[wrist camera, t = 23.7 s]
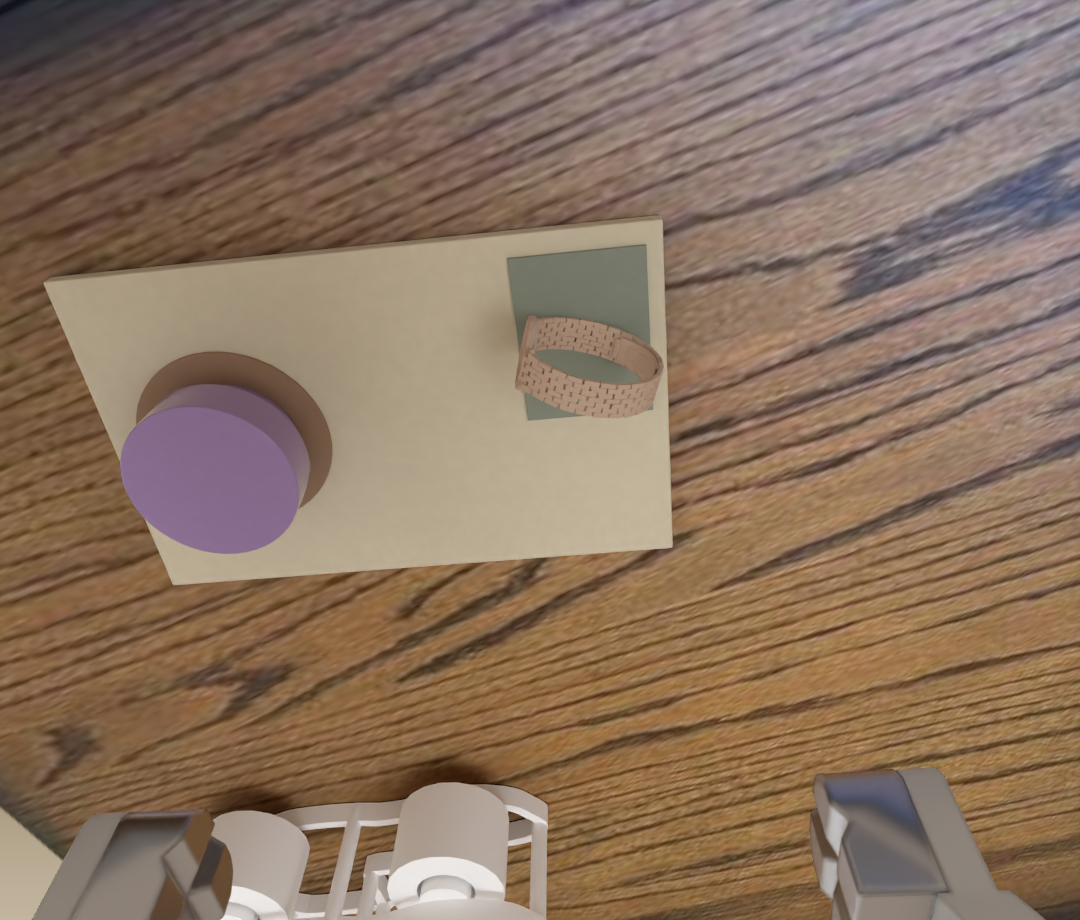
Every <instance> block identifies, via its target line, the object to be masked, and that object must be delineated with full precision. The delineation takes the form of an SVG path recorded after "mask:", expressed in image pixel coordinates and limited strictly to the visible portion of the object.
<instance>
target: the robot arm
mask: <svg viewBox="0 0 1080 920" xmlns="http://www.w3.org/2000/svg"><path fill="white" fill-rule="evenodd" d="M812 792H813V795H814V799H815V802H816V806H817V808H816V809H815V810H814V811H813V812H811V813H810V827H809V832H810V844H811V853H812V858H813V863H814V868H815V872H816V876H817V879H818V883H819V887H820V889H821V890H822V891H823V892H824V893H825V894H826V895H827V896H828V897H829V898H830V899H831V900H832V909H831V917H830V920H1045V919H1044V918H1043V917H1042V916H1041V915H1039V914H1038V913H1037V912H1036V911H1035V910H1033V909H1032V908H1031V907H1030V906H1029V905H1027V904H1026V903H1025V902H1024V901H1023V900H1021V899H1020V898H1019V897H1018V896H1017V895H1015V894H1014V893H1013V892H1012V891H998V890H997V888H996V885H995V883H994V881H993V879H992V877H991V875H990V873H989V870H988V868H987V866H986V864H985V862H984V860H983V858H982V855H981V853H980V851H979V849H978V847H977V845H976V843H975V840H974V838H973V836H972V834H971V832H970V830H969V828H968V825H967V823H966V821H965V819H964V817H963V815H962V813H961V811H960V808H959V806H958V804H957V802H956V800H955V798H954V796H953V793H952V791H951V789H950V787H949V785H948V783H947V781H946V778H945V776H944V775H943V774H942V773H941V772H940V771H939V770H938V769H937V768H933V767H930V768H917V769H904V770H893V769H883V770H869V771H855V772H841V773H827V774H817V775H816V777H815V778H814V783H813V791H812ZM214 826H215V823H214V821H213V819H212V818H211V816H210V814H209V812H208V811H207V809H199V810H173V811H147V812H117V813H99V814H93V815H92V816H91V817H90V818H89V819H88V820H87V821H86V822H85V823H84V824H83V825H82V827H81V829H80V830H79V832H78V834H77V836H76V838H75V840H74V842H73V844H72V845H71V847H70V849H69V851H68V853H67V855H66V857H65V858H64V860H63V862H62V864H61V866H60V868H59V870H58V872H57V874H56V875H55V877H54V879H53V881H52V883H51V885H50V887H49V888H48V890H47V892H46V894H45V896H44V898H43V900H42V902H41V903H40V905H39V907H38V909H37V911H36V913H35V915H34V917H33V918H32V920H221V919H222V918H223V917H224V915H225V912H226V909H227V906H228V902H229V899H230V896H231V890H232V880H233V865H232V859H231V854H230V852H229V850H228V848H227V846H226V844H225V843H223V842H221V841H220V840H218V839H216V838H215V837H213V836H211V834H212V831H213V829H214Z"/></svg>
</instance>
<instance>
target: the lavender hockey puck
mask: <svg viewBox="0 0 1080 920" xmlns="http://www.w3.org/2000/svg"><path fill="white" fill-rule="evenodd" d="M120 469H121V476H122V481H123V484H124V487H125V490H126V492H127V494H128V496H129V498H130V500H131V502H132V503H133V505H134V506H135V508H136V509H137V510H138V512H139V513H140V514H141V515H142V516H143V517H144V518H145V519H146V520H147V521H148V522H149V523H150V524H151V525H152V526H153V527H155V528H156V529H157V530H159V531H160V532H161V533H163V534H164V535H166V536H168V537H169V538H171V539H173V540H175V541H177V542H179V543H181V544H183V545H186V546H188V547H191V548H194V549H197V550H201V551H205V552H211V553H219V554H238V553H245V552H250V551H254V550H257V549H259V548H262V547H265V546H266V545H268V544H270V543H272V542H274V541H275V540H276V539H278V538H279V537H280V536H281V535H282V534H283V533H284V532H285V531H286V530H287V529H288V528H289V526H290V525H291V523H292V522H293V519H294V517H295V515H296V513H297V511H298V508H299V506H300V504H301V502H302V500H303V498H304V495H305V493H306V491H307V489H308V485H309V481H310V473H311V469H310V460H309V455H308V451H307V448H306V446H305V443H304V441H303V439H302V437H301V435H300V434H299V432H298V430H297V429H296V427H295V425H294V423H293V422H292V420H291V419H290V417H289V416H288V415H287V414H286V413H285V411H284V410H283V409H282V408H281V407H279V406H278V405H277V404H276V403H275V402H273V401H272V400H271V399H269V398H267V397H266V396H264V395H262V394H260V393H258V392H256V391H253V390H251V389H248V388H245V387H240V386H235V385H218V384H198V385H192V386H187V387H184V388H180V389H177V390H175V391H173V392H171V393H169V394H167V395H166V396H164V397H163V398H161V399H160V400H159V401H158V402H157V403H156V404H155V405H154V406H153V407H152V408H151V409H150V410H149V411H148V412H147V414H146V415H145V416H144V417H143V418H142V419H141V420H140V422H139V423H138V424H137V425H136V426H135V427H134V429H133V430H132V431H131V433H130V434H129V435H128V437H127V439H126V441H125V443H124V446H123V449H122V452H121V460H120Z"/></svg>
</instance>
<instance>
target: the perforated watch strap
mask: <svg viewBox="0 0 1080 920" xmlns="http://www.w3.org/2000/svg"><path fill="white" fill-rule="evenodd" d="M579 321H580V323H579ZM593 325H594V326H593ZM585 326H586V329H585ZM577 329H578V331H577ZM599 331H600V332H599ZM591 332H592V335H591ZM614 333H615V335H614ZM583 334H584V336H583ZM613 335H614V336H613ZM575 337H576V338H575ZM605 337H606V338H605ZM597 339H598V340H597ZM611 343H612V345H611ZM573 346H574V348H573ZM595 347H596V350H595ZM546 349H564V350H573V351H578V352H584V353H588V354H592V355H596V356H600V355H601V357H602V358H605V359H608V360H610V361H613V360H614V362H615V363H617V364H619V365H621V366H624V367H625V366H626V368H627V369H628V370H630V371H632V372H633V373H635V374H636V375H637V376H638V378H639V379H640V380H641V381H639V382H632V383H631V384H630V383H612V382H602V381H601V383H600V382H599V381H596V380H591V379H586V378H582V377H579V376H575V375H572V374H569V373H568V375H567V373H566V372H564V371H562V370H559V369H557V368H555V367H554V368H553V366H551V365H549V364H547V363H545V362H544V361H542V360H541V359H540V358H539V357H538V356H537V354H536V353H535V350H536V351H540V350H546ZM587 349H588V350H587ZM601 353H602V354H601ZM614 358H615V359H614ZM663 370H664V364H663V360H662V357H661V356H660V355H659V354H658V353H657V351H655V350H654V348H652V347H651V346H650V345H649V344H648V343H646V342H645V341H643V340H642V339H640V338H638V337H635V336H634V335H632V334H630V333H628V332H626V331H622V329H619V328H616V327H613V326H609V328H608V325H607V324H603V323H599V322H593V321H591V320H586V319H581V320H579V318H571V317H566V318H565V317H553V318H552V317H547V318H541V319H540V318H537V317H536V316H533V315H529V317H528V320H527V322H526V326H525V330H524V335H523V339H522V344H521V349H520V354H519V360H518V366H517V372H516V380H515V389H517V390H519V391H520V390H521V392H522V393H526V392H527V393H529V394H532V396H534V397H536V398H537V399H539V400H541V401H542V402H543V401H544V402H545V403H547V404H549V405H551V406H553V407H555V408H558V407H560V409H561V410H564V411H567V412H571V413H574V412H575V410H576V413H575V414H579V415H585V416H590V417H591V415H592V416H593V417H596V418H607V417H608V418H621V417H623V418H627V417H631V416H634V415H636V416H637V415H638V414H640V413H642V412H644V411H646V410H647V409H648V408H649V407H651V405H652V403H653V401H654V398H655V395H656V391H657V389H658V385H659V382H660V379H661V376H662V373H663ZM574 382H575V384H574V385H573V383H574ZM564 385H565V387H564ZM590 386H591V387H590ZM589 388H590V389H589ZM581 389H582V390H581ZM580 390H581V393H580ZM571 392H572V394H571ZM562 395H563V396H562ZM587 397H588V399H587ZM578 399H579V402H577V401H578ZM569 402H570V403H569ZM568 403H569V405H568ZM594 404H595V405H594ZM584 408H585V409H584Z"/></svg>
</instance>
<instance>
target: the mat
mask: <svg viewBox="0 0 1080 920" xmlns="http://www.w3.org/2000/svg"><path fill="white" fill-rule="evenodd" d="M44 286H45V288H46V291H47V293H48V295H49V298H50V300H51V302H52V305H53V307H54V309H55V312H56V314H57V316H58V319H59V321H60V323H61V325H62V328H63V330H64V332H65V335H66V337H67V339H68V342H69V344H70V346H71V349H72V351H73V353H74V356H75V358H76V360H77V363H78V365H79V367H80V370H81V372H82V374H83V377H84V379H85V381H86V384H87V386H88V388H89V390H90V393H91V395H92V397H93V400H94V402H95V404H96V407H97V409H98V411H99V414H100V416H101V418H102V421H103V423H104V425H105V428H106V430H107V432H108V435H109V437H110V439H111V442H112V444H113V446H114V449H115V451H116V453H117V456H118V458H119V460H121V452H122V449H123V446H124V443H125V441H126V439H127V437H128V435H129V434H130V433H131V431H132V430H133V429H134V427H135V426H136V425H137V424H138V423H139V422H140V420H141V419H142V418H143V417H144V416H145V415H146V414H147V412H148V411H149V410H150V409H151V408H152V407H153V406H154V405H155V404H156V403H157V402H158V401H159V400H160V399H161V398H163V397H164V396H166V395H167V394H169V393H171V392H173V391H175V390H177V389H180V388H184V387H187V386H192V385H198V384H218V385H235V386H240V387H245V388H248V389H251V390H253V391H256V392H258V393H260V394H262V395H264V396H266V397H267V398H269V399H271V400H272V401H273V402H275V403H276V404H277V405H278V406H279V407H281V408H282V409H283V410H284V411H285V413H286V414H287V415H288V416H289V417H290V419H291V420H292V422H293V423H294V425H295V427H296V429H297V430H298V432H299V434H300V435H301V437H302V439H303V441H304V443H305V446H306V448H307V451H308V455H309V460H310V469H311V473H310V481H309V485H308V489H307V491H306V493H305V495H304V498H303V500H302V502H301V504H300V506H299V508H298V511H297V513H296V515H295V517H294V519H293V522H292V523H291V525H290V526H289V528H288V529H287V530H286V531H285V532H284V533H283V534H282V535H281V536H280V537H279V538H278V539H276V540H275V541H274V542H272V543H270V544H268V545H266V546H265V547H262V548H259V549H257V550H254V551H250V552H245V553H238V554H219V553H211V552H205V551H201V550H197V549H194V548H191V547H188V546H186V545H183V544H181V543H179V542H177V541H175V540H173V539H171V538H169V537H168V536H166V535H164V534H163V533H161V532H160V531H159V530H157V529H156V528H155V527H153V526H152V525H151V524H150V523H149V522H148V521H147V520H146V519H145V521H146V523H147V525H148V528H149V530H150V532H151V534H152V537H153V539H154V541H155V544H156V546H157V548H158V551H159V553H160V555H161V558H162V560H163V562H164V565H165V567H166V569H167V572H168V574H169V576H170V579H171V581H172V583H173V585H182V584H196V583H209V582H222V581H236V580H249V579H262V578H276V577H289V576H302V575H316V574H329V573H342V572H356V571H369V570H382V569H396V568H409V567H422V566H436V565H449V564H462V563H476V562H489V561H502V560H516V559H529V558H542V557H556V556H569V555H582V554H596V553H609V552H622V551H636V550H649V549H662V548H672V547H673V537H672V504H671V472H670V440H669V408H668V375H667V343H666V311H665V279H664V247H663V220H662V218H661V215H654V216H644V217H635V218H625V219H615V220H605V221H595V222H586V223H576V224H566V225H556V226H547V227H537V228H527V229H517V230H508V231H498V232H488V233H478V234H468V235H459V236H449V237H439V238H429V239H420V240H410V241H400V242H390V243H381V244H371V245H361V246H351V247H341V248H332V249H322V250H312V251H302V252H293V253H283V254H273V255H263V256H253V257H244V258H234V259H224V260H214V261H205V262H195V263H185V264H175V265H166V266H156V267H146V268H136V269H126V270H117V271H107V272H97V273H87V274H78V275H68V276H58V277H51V278H49V279H48V280H46V281H45V282H44ZM529 315H533V316H536V317H537V318H540V319H541V318H547V317H552V318H553V317H565V318H566V317H571V318H579V320H581V319H586V320H591V321H593V322H599V323H603V324H607V325H608V328H609V326H613V327H616V328H619V329H622V331H626V332H628V333H630V334H632V335H634V336H635V337H638V338H640V339H642V340H643V341H645V342H646V343H648V344H649V345H650V346H651V347H652V348H654V350H655V351H657V353H658V354H659V355H660V356H661V357H662V360H663V364H664V370H663V373H662V376H661V379H660V382H659V385H658V389H657V391H656V395H655V398H654V401H653V403H652V405H651V407H649V408H648V409H647V410H646V411H644V412H642V413H640V414H638V415H637V416H636V415H634V416H631V417H627V418H623V417H621V418H608V417H607V418H596V417H593V416H592V415H591V417H590V416H585V415H579V414H575V413H576V410H575V412H574V413H571V412H567V411H564V410H561V409H560V407H558V408H555V407H553V406H551V405H549V404H547V403H545V402H544V401H543V402H542V401H541V400H539V399H537V398H536V397H534V396H532V394H529V393H527V392H526V393H522V392H521V390H520V391H519V390H517V389H515V380H516V372H517V366H518V360H519V354H520V349H521V344H522V339H523V335H524V330H525V326H526V322H527V320H528V317H529ZM579 323H580V321H579ZM593 326H594V325H593ZM585 329H586V326H585ZM577 331H578V329H577ZM599 332H600V331H599ZM591 335H592V332H591ZM614 335H615V333H614ZM614 335H613V336H614ZM583 336H584V334H583ZM575 338H576V337H575ZM605 338H606V337H605ZM597 340H598V339H597ZM611 345H612V343H611ZM573 348H574V346H573ZM587 350H588V349H587ZM595 350H596V347H595ZM535 353H536V354H537V356H538V357H539V358H540V359H541V360H542V361H544V362H545V363H547V364H549V365H551V366H553V368H554V367H555V368H557V369H559V370H562V371H564V372H566V373H567V375H568V373H569V374H572V375H575V376H579V377H582V378H586V379H591V380H596V381H599V382H600V383H601V381H602V382H612V383H630V384H631V383H632V382H639V381H641V380H640V379H639V378H638V376H637V375H636V374H635V373H633V372H632V371H630V370H628V369H627V368H626V366H625V367H624V366H621V365H619V364H617V363H615V362H614V360H613V361H610V360H608V359H605V358H602V357H601V355H600V356H596V355H592V354H588V353H584V352H578V351H573V350H564V349H546V350H540V351H536V350H535ZM601 354H602V353H601ZM614 359H615V358H614ZM574 384H575V382H574V383H573V385H574ZM564 387H565V385H564ZM590 387H591V386H590ZM589 389H590V388H589ZM581 390H582V389H581ZM581 390H580V393H581ZM571 394H572V392H571ZM562 396H563V395H562ZM587 399H588V397H587ZM577 402H579V399H578V401H577ZM569 403H570V402H569ZM569 403H568V405H569ZM594 405H595V404H594ZM584 409H585V408H584Z"/></svg>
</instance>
